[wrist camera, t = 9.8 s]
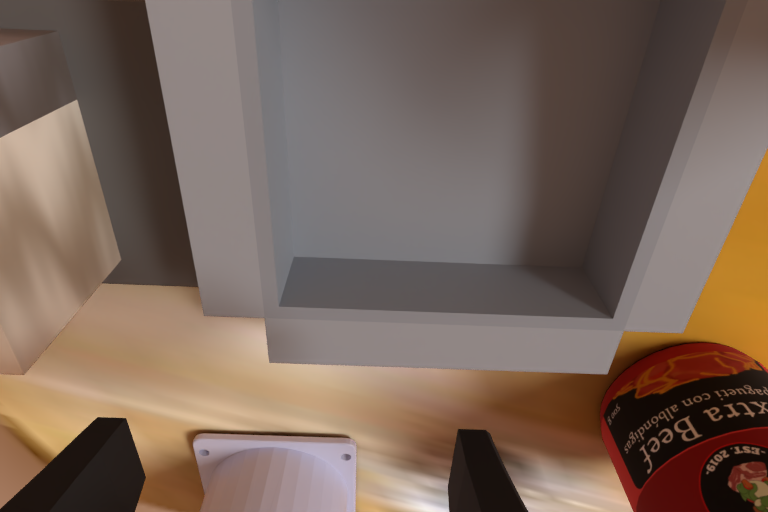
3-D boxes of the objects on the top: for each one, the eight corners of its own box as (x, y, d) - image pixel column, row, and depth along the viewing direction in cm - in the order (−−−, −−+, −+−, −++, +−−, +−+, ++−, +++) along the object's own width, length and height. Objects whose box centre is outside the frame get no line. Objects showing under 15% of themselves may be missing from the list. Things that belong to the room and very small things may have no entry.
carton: (623, 315, 21) (663, 376, 18) (237, 300, 21) (212, 360, 18) (810, -192, 13) (942, -235, 10) (164, -226, 12) (92, -281, 9)
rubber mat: (209, 279, 20) (205, 286, 20) (-44, 270, 20) (-53, 277, 20) (161, 0, 15) (155, 2, 14) (-183, -15, 15) (-200, -14, 14)
